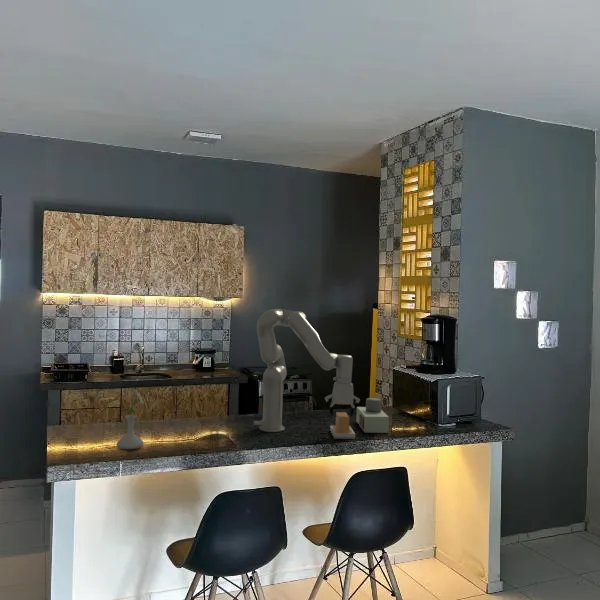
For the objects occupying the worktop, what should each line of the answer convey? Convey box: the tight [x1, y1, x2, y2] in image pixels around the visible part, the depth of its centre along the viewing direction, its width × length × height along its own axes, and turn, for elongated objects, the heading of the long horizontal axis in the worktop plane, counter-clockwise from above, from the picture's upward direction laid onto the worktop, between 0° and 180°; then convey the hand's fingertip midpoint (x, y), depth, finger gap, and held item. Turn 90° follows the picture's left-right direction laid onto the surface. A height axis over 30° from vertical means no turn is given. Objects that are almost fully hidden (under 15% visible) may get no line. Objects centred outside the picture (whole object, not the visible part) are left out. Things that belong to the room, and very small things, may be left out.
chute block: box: [335, 411, 351, 433], centre depth 295 cm, size 5×11×9 cm, turn 4°
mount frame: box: [329, 425, 356, 440], centre depth 295 cm, size 10×16×2 cm, turn 4°
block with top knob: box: [356, 397, 390, 434], centre depth 313 cm, size 13×24×14 cm, turn 5°
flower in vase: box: [116, 388, 145, 450], centre depth 260 cm, size 13×11×25 cm
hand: (341, 415), depth 295 cm, fingers open, 9 cm apart
